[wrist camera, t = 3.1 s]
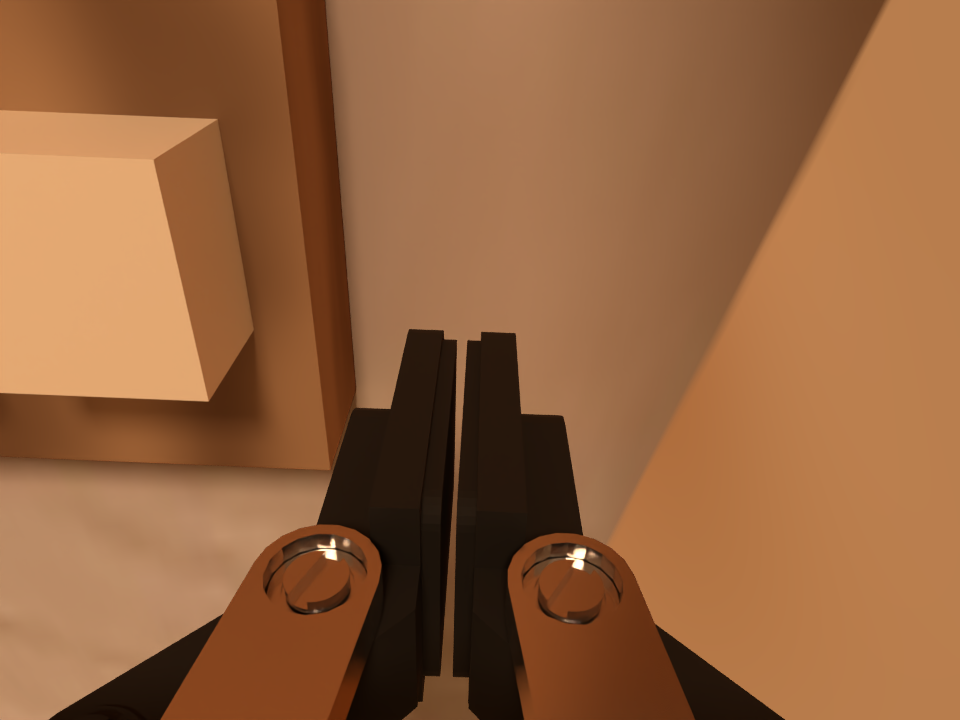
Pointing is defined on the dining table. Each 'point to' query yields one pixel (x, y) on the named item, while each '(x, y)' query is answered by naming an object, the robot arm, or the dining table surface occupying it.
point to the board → (256, 205)
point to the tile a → (117, 257)
